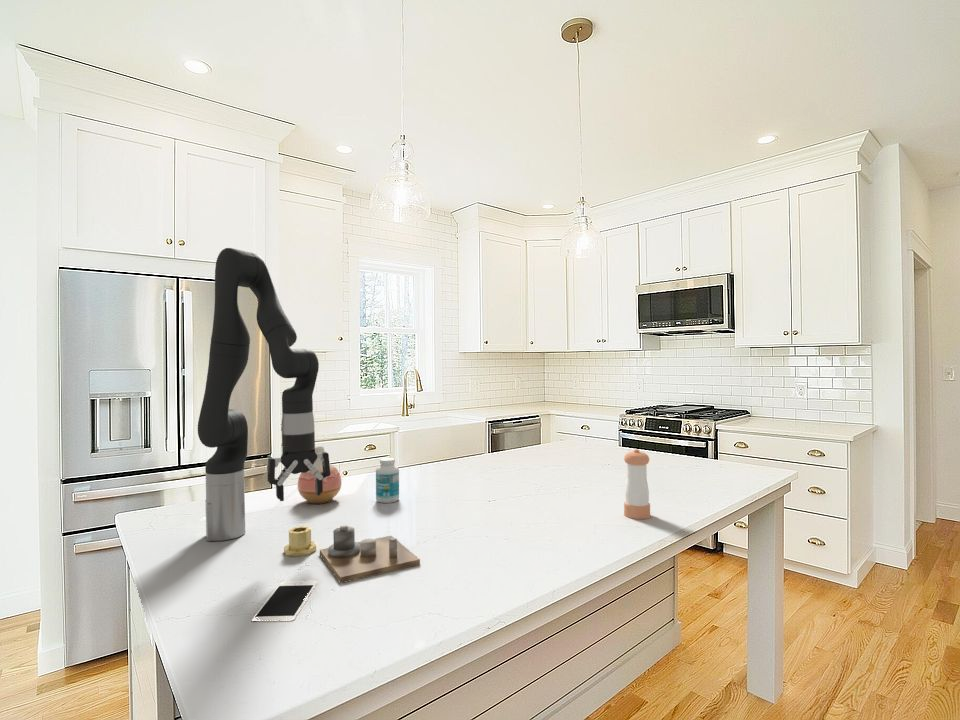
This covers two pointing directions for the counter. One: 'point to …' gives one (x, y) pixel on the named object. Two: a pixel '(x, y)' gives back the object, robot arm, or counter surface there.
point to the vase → (329, 483)
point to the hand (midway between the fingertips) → (300, 497)
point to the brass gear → (299, 542)
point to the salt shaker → (636, 486)
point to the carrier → (365, 555)
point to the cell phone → (285, 600)
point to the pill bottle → (387, 481)
